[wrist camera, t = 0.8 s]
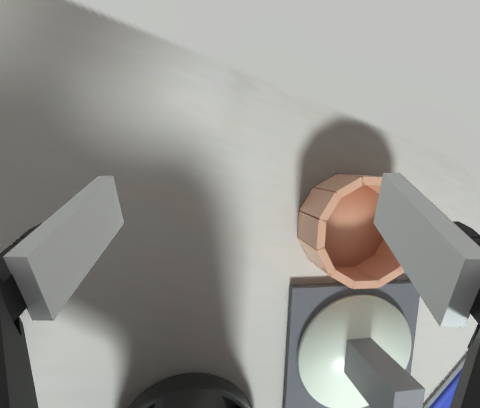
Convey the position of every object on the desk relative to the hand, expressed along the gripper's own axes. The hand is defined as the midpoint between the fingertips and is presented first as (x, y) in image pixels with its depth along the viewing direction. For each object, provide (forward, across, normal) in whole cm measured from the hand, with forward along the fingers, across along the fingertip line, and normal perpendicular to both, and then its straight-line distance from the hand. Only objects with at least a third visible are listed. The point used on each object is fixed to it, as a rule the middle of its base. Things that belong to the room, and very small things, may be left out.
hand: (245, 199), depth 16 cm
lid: (+11, -12, +26) cm, 30 cm away
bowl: (+17, -10, +12) cm, 23 cm away
